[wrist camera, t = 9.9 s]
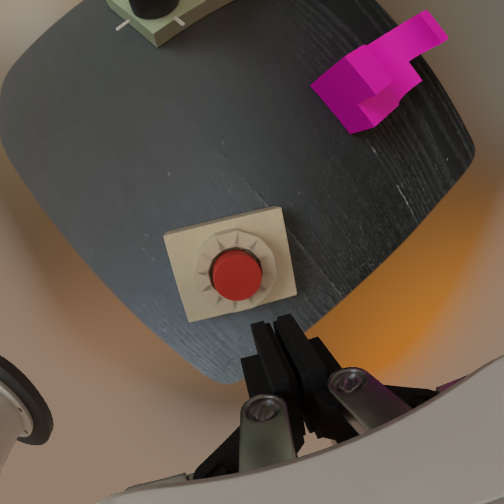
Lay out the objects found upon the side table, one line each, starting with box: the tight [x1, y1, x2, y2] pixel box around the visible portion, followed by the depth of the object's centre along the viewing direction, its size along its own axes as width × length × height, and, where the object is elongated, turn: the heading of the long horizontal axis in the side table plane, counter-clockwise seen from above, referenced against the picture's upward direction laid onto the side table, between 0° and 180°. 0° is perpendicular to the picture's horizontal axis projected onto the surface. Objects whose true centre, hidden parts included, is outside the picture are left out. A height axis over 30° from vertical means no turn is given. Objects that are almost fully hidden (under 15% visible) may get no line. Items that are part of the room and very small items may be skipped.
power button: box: [213, 250, 262, 301], centre depth 22 cm, size 4×4×2 cm
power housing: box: [163, 206, 297, 323], centre depth 25 cm, size 10×8×4 cm
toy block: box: [310, 10, 448, 134], centre depth 21 cm, size 15×6×8 cm, turn 132°
